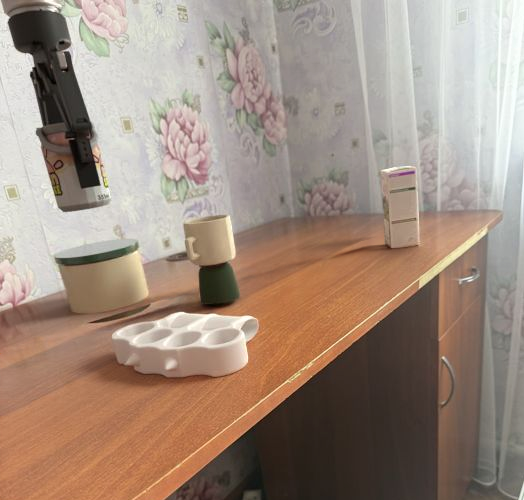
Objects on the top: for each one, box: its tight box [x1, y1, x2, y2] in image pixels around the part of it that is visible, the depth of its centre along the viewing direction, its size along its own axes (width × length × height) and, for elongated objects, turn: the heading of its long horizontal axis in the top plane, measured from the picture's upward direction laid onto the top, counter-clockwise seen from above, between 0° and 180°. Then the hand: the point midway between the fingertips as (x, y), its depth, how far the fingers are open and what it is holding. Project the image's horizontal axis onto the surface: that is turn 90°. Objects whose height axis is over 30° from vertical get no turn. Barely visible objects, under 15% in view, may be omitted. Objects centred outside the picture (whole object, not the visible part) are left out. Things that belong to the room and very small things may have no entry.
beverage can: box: [35, 121, 112, 213], centre depth 75 cm, size 9×8×12 cm
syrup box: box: [380, 165, 420, 249], centre depth 96 cm, size 6×6×14 cm
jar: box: [53, 238, 151, 324], centre depth 81 cm, size 13×13×10 cm
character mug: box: [182, 214, 241, 306], centre depth 76 cm, size 11×7×13 cm, turn 148°
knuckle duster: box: [110, 311, 260, 379], centre depth 59 cm, size 3×18×15 cm
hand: (81, 187), depth 76 cm, fingers closed on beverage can, 9 cm apart
